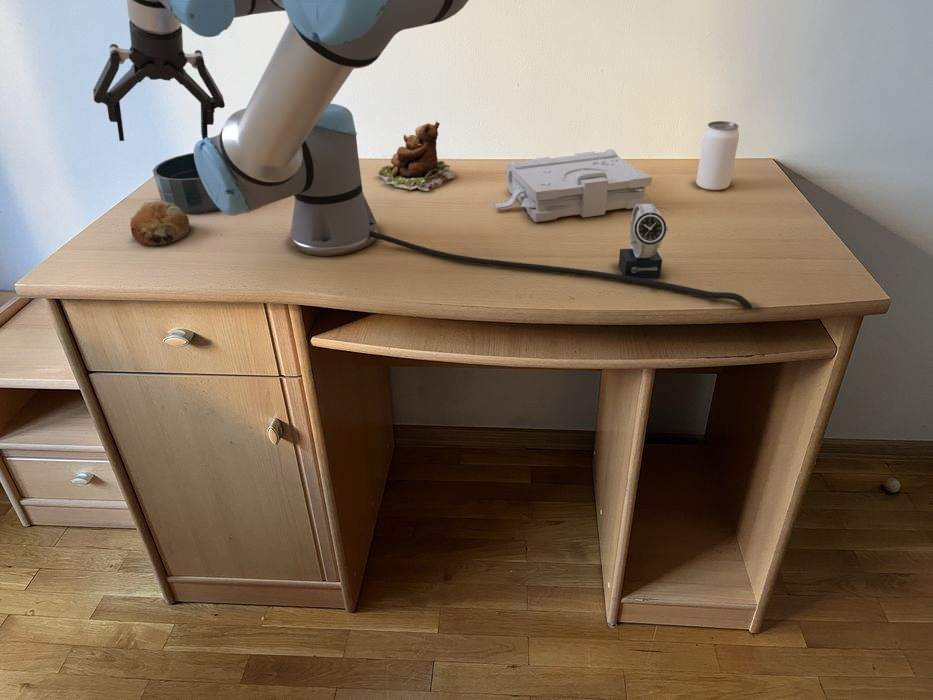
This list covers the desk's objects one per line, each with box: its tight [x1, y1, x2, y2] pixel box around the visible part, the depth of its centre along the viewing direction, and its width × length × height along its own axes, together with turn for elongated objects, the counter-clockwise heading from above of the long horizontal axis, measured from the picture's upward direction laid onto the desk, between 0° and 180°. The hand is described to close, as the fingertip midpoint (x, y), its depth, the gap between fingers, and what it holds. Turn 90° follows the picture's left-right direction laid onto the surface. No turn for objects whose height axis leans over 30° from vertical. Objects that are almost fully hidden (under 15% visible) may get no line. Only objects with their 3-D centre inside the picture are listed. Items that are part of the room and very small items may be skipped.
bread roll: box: [130, 200, 190, 246], centre depth 123 cm, size 10×10×8 cm
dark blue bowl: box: [152, 152, 221, 215], centre depth 137 cm, size 17×17×7 cm
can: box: [695, 120, 740, 192], centre depth 133 cm, size 6×6×12 cm
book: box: [494, 148, 653, 223], centre depth 129 cm, size 19×28×8 cm
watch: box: [617, 203, 670, 279], centre depth 103 cm, size 6×8×11 cm
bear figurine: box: [378, 120, 455, 192], centre depth 141 cm, size 14×15×12 cm
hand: (163, 137), depth 120 cm, fingers open, 13 cm apart
